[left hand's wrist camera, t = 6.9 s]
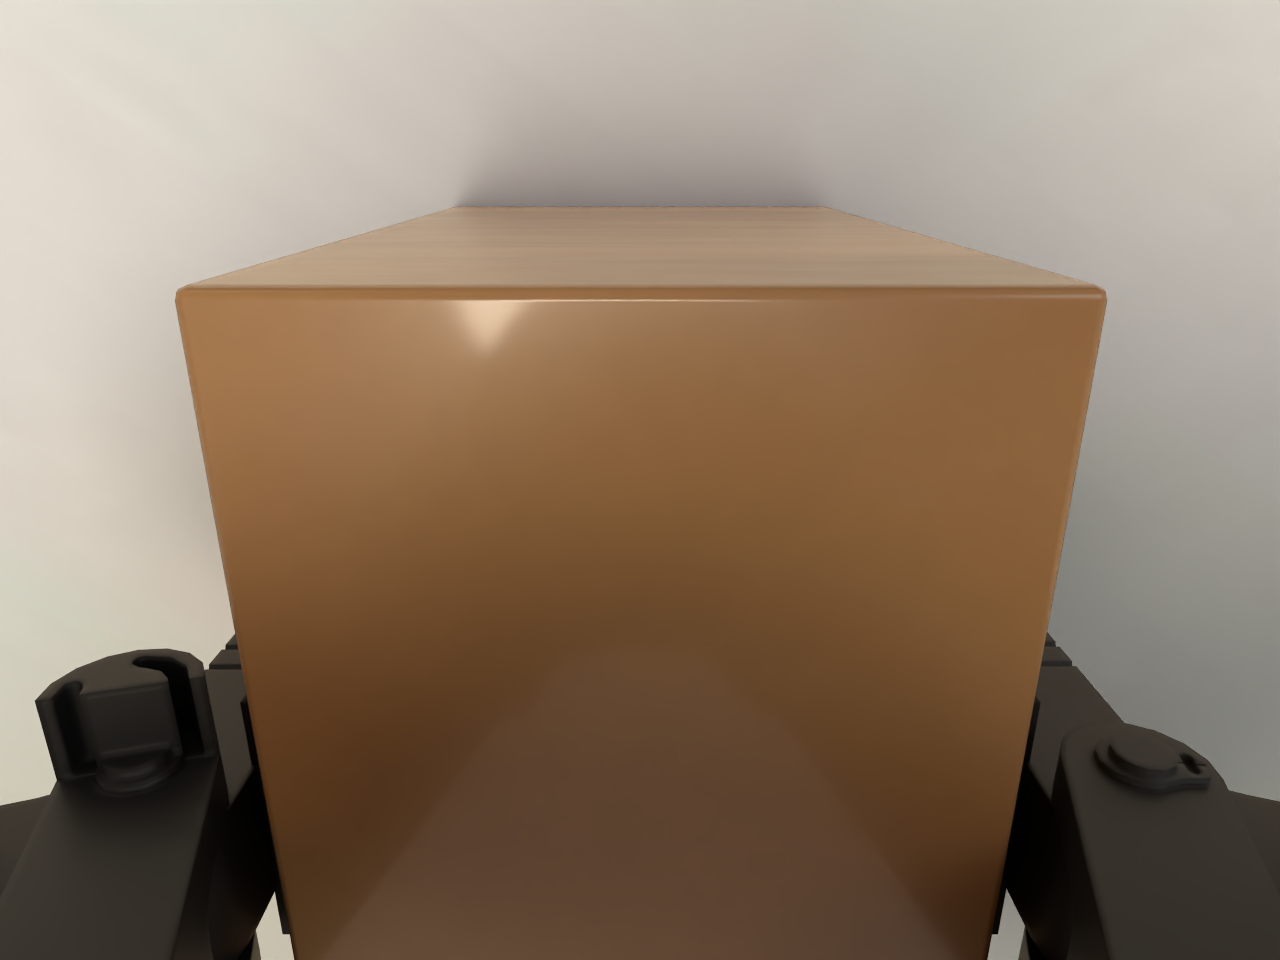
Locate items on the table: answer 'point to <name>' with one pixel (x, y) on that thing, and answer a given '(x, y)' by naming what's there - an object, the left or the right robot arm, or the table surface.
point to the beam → (640, 576)
